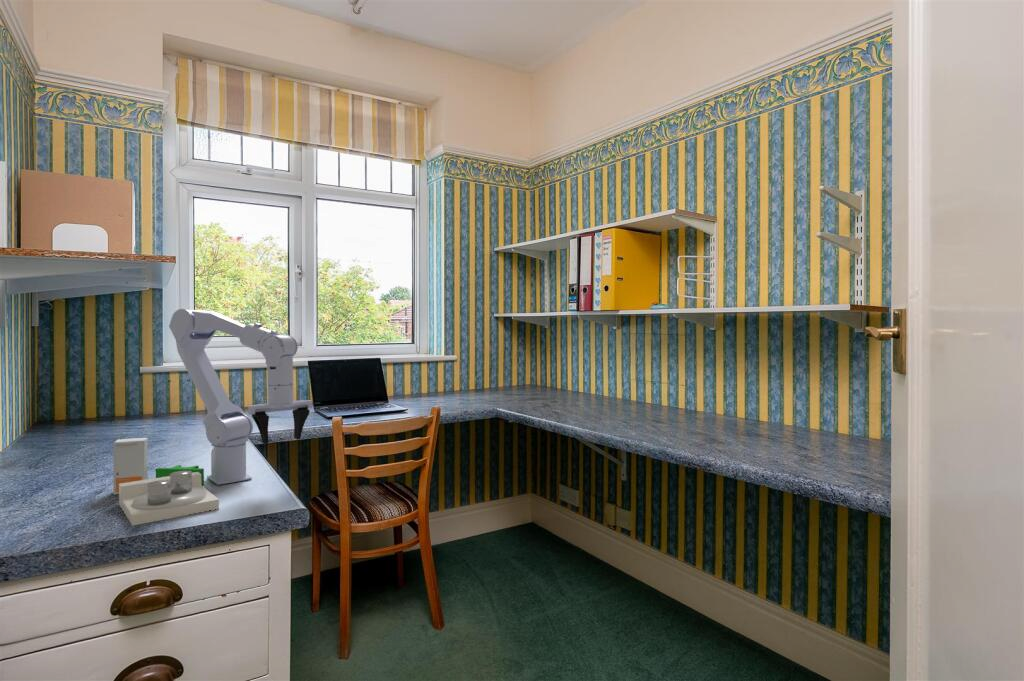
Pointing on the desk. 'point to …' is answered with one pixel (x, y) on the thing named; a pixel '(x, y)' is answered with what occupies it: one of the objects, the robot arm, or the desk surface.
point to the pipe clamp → (167, 471)
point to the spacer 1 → (159, 492)
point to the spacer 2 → (181, 482)
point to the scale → (180, 505)
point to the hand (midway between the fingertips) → (281, 440)
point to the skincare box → (130, 461)
